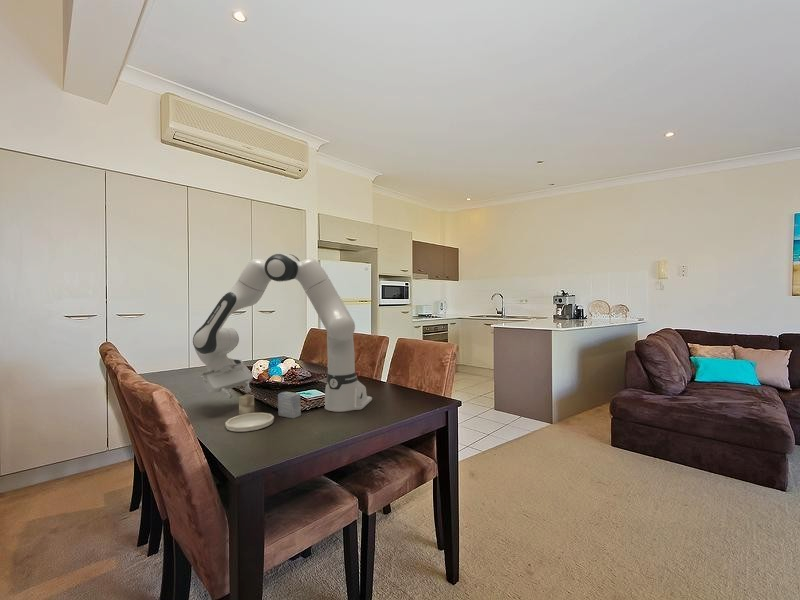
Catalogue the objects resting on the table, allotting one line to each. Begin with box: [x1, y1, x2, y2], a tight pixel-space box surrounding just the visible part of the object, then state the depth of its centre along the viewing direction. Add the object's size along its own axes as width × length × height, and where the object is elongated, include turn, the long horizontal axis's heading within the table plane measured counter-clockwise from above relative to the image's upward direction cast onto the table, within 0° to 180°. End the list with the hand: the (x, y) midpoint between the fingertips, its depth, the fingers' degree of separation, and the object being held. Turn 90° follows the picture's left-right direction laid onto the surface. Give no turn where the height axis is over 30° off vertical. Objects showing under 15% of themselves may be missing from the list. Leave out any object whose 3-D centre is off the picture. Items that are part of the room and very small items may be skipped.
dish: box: [224, 412, 275, 433], centre depth 139 cm, size 16×16×2 cm
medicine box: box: [277, 391, 302, 419], centre depth 148 cm, size 8×4×9 cm, turn 59°
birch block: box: [238, 393, 255, 415], centre depth 152 cm, size 4×4×7 cm
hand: (239, 394), depth 153 cm, fingers open, 8 cm apart
